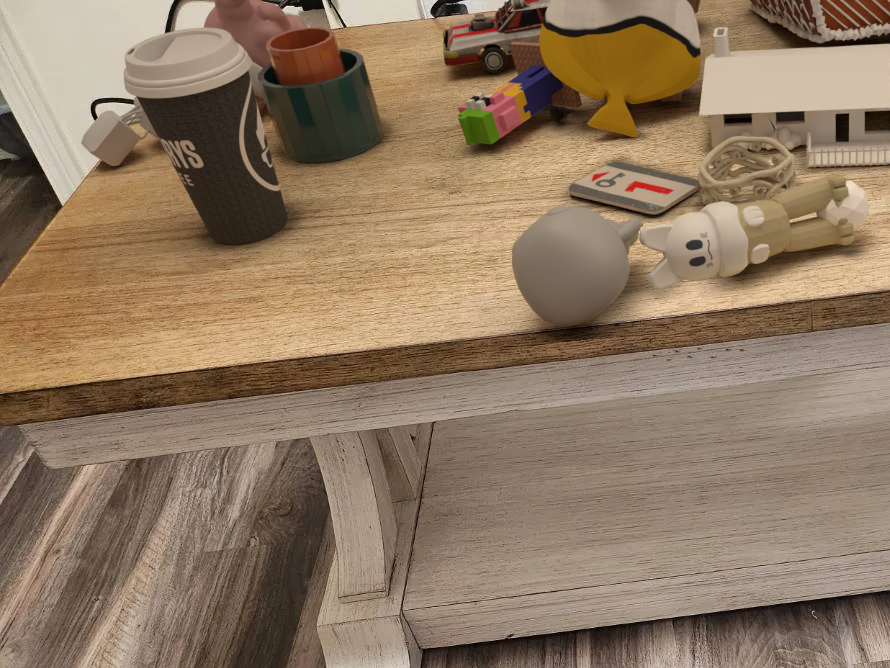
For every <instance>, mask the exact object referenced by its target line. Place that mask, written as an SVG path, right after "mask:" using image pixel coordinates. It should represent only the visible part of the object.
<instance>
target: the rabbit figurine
mask: <svg viewBox="0 0 890 668" xmlns="http://www.w3.org/2000/svg"><path fill="white" fill-rule="evenodd" d="M796 186H797V187H794V188H791V189H788V190H786V191H783V192H781V193H779V194H777V193H775V194H774V196H773V195H772V196H771V197H772V198H771V199H770V200H756V201H754V202H748V203H743V204H738V205H733V204H731V203H729V202H725V201H721V202H716V203H712V204H709V205H705V206H703V207H702V208H701V209H700V210H699V211H693V212H692V211H691V212H687V213H684V214H680V215H679V216H678V217H676V218H675V219H673V220H672V221H671V222H669V223H658V224H653V225H648V226H645V227H643V228H641V229H640V230H639V236H638V241H639V242H640V244H641V245H643V246H645V248H648V249H650V250H652V251H653V250H654V251H656V252H661V253H662V256H663V258H662V259H661V260H659V262H658V263H657V264H656V265H655V266H654V267H653V268H652V269H651V270H650V272H649V274H648V276H647V280H648V283H649V284H650V286H651V287H652V288H653V289H656V290H661V289H667V288H669V287H672V286H674V285H676V284H678V283H682V282H683V281H684V280H685V281H690V282H701V281H706V280H708V279H711V278H712V277H715V276H718V277H721V278H727V277H728V278H729V277H732V276H736V275H738V274H740V273H741V272H742V271H744V270H745V268H746V267H748V265H750V264H753V265H754V264H755V265H757V264H761V263H764V262H766V261H767V260H768V259H769V258H770V257H773V256H775V255H778V254H780V253H782V252H783V251H784V252H790V253H791V252H799V251H806V250H810V249H815V248H816V249H817V248H821V247H824V246H825V247H827V246H831V245H842V246H847V245H851V244H852V243H853V242H855V237H854V231H855V230H857V229H858V228H860V227H861V226H863V225H864V223H865V220H866V217H867V214H868V212H869V209H870V207H869V203H868V199H867V195H866V191H865V190H864V189H863V188H861V187H860V186H859V185H858V184H856V182H854V181H853V180H847V178H846V176H843V175H841V174H830V175H826V176H823V177H821V178H817V179H814V180H811V181H808V182H805V183H803V184H799V185H796ZM815 213H816V216H814V217H809V218H806V219H805V218H804V219H802V220H801V219H800V220H797V221H793V222H790V220H794V219H797V218H801V217H804V216H808V215H811V214H815Z"/></svg>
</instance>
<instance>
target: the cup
mask: <svg viewBox="0 0 890 668" xmlns="http://www.w3.org/2000/svg"><path fill="white" fill-rule="evenodd" d="M266 48H267V51H268V54H269V57H270V60H271V63H272V66H273V69H274V72H275V75H276V77H277V80H278V83H279V85H286V86H293V85H306V84H312V83H317V82H321V81H325V80H328V79H332V78H335V77H337V76H339V75H341V74H344V73H346V71H345V68H344V65H343V61H342V58H341V55H340V51H339V49H340V47H339V44H338V42H337V38H336V36H335V32H334V31H333V30H332V29H330V28H327V27H321V26H308V27H307V28H300V29H294V30H291V31H287V32H284V33H281V34H279V35H276V36H274V37H272V38H271V39H270V40H269V41H267V44H266Z"/></svg>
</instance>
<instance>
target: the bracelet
mask: <svg viewBox="0 0 890 668" xmlns="http://www.w3.org/2000/svg"><path fill="white" fill-rule="evenodd" d="M733 143H752V144H751V147H752V149H753V150H752V151H754V152H759V151H761V149H763V148H762V146H763V143H766V144H770V145H772V146H774V147H775V148H774V149H776V150H778V151H779V152H780V153H777V154H775V155H773V156H772V157H771V163H772V164H770V162H769V161H768V160H767V159H765V158H764V157H762V156H759V155H758V154H753V153H752V152H750V151H749V150H748V149H747V150H746V149H745V148H743V147H741V146H738V145H731V144H733ZM756 145H757V146H756ZM728 152H729V156H730V157H724V158H722V155H723V154H725V153H728ZM784 157H785V158H784ZM734 165H739V166H740V167H739V168H736V169H735V170H731V169H732V168H733V166H734ZM710 166H712V168H710ZM795 168H796V156H795V154H794V153H791V152H790V150H787V149H786V148H785V146H784V145H782V144H780V143H779V142H778V141H776V140H774V139H772V138H769V137H745V136H736V137H732V138H728V139H727V140H725V141H724V142H722V143H721V144H719V145H718V146H717V147H715V148H712V149H710V151H709V152H708V153H707V154H706V155H705V156H704V157H703V159H702V161H701V162H700V164H699V165H698V168H697V169H698V174H697V176H698V181H699V186H700V189H701V190H703V193H702V194H701V201H702V204H703V205H705V206H706V205H709V204H712V203H716V202H721V201H725V202H729V203H731V204H733V205H738V204H743V203H748V202H754V201H761V200H770V199H771V198H772V197H773V195H776V194H779V193H781V192H783V191H786V190H788V189H791V188H794V187H797V186H798V185H797V176H796V171H795ZM744 174H745V175H744ZM740 175H743V176H740ZM738 176H740V177H738ZM727 177H730V178H731V179H728V180H726V179H727ZM736 177H738V178H736ZM760 178H771V179H772V180H773V181H775V182H773V184H772V183H770V182H769V181H767V180H765V179H760ZM752 186H753V187H752ZM783 186H785V187H786V188H785V187H783ZM744 187H752V192H753V193H742V194H740V193H741V191H742V188H744ZM716 189H720V190H728V194H729V195H730V196H726V195H724V194H722V193H720V192H719V191H717V190H716ZM765 189H766V190H765Z"/></svg>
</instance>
